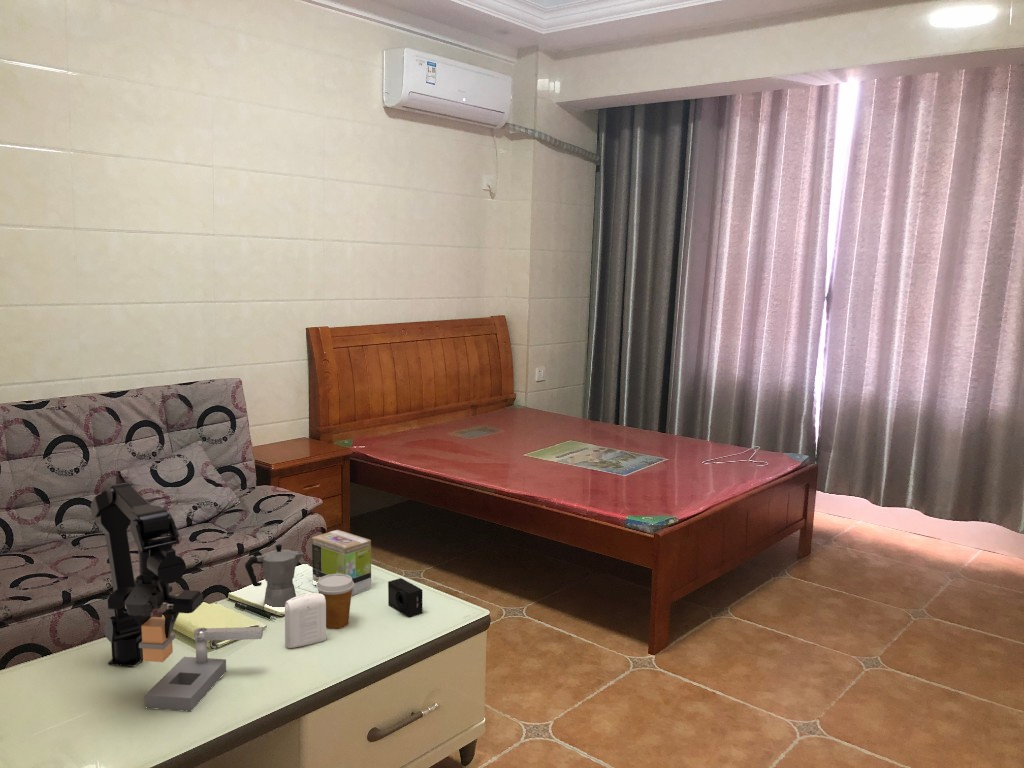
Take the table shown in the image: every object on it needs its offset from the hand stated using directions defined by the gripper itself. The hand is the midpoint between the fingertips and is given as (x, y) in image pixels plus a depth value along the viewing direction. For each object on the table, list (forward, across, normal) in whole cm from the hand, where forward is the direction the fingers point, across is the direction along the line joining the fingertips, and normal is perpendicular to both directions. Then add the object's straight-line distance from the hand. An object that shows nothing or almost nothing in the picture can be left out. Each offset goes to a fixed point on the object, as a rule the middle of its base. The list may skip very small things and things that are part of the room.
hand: (157, 636), depth 181 cm
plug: (+4, 0, 0) cm, 4 cm away
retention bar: (+4, +12, +10) cm, 16 cm away
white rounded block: (+13, +24, +26) cm, 38 cm away
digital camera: (+13, +44, +47) cm, 66 cm away
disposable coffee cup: (+13, +29, +37) cm, 48 cm away
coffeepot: (+13, +10, +44) cm, 47 cm away
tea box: (+13, +24, +61) cm, 67 cm away
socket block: (+13, +6, +2) cm, 14 cm away
